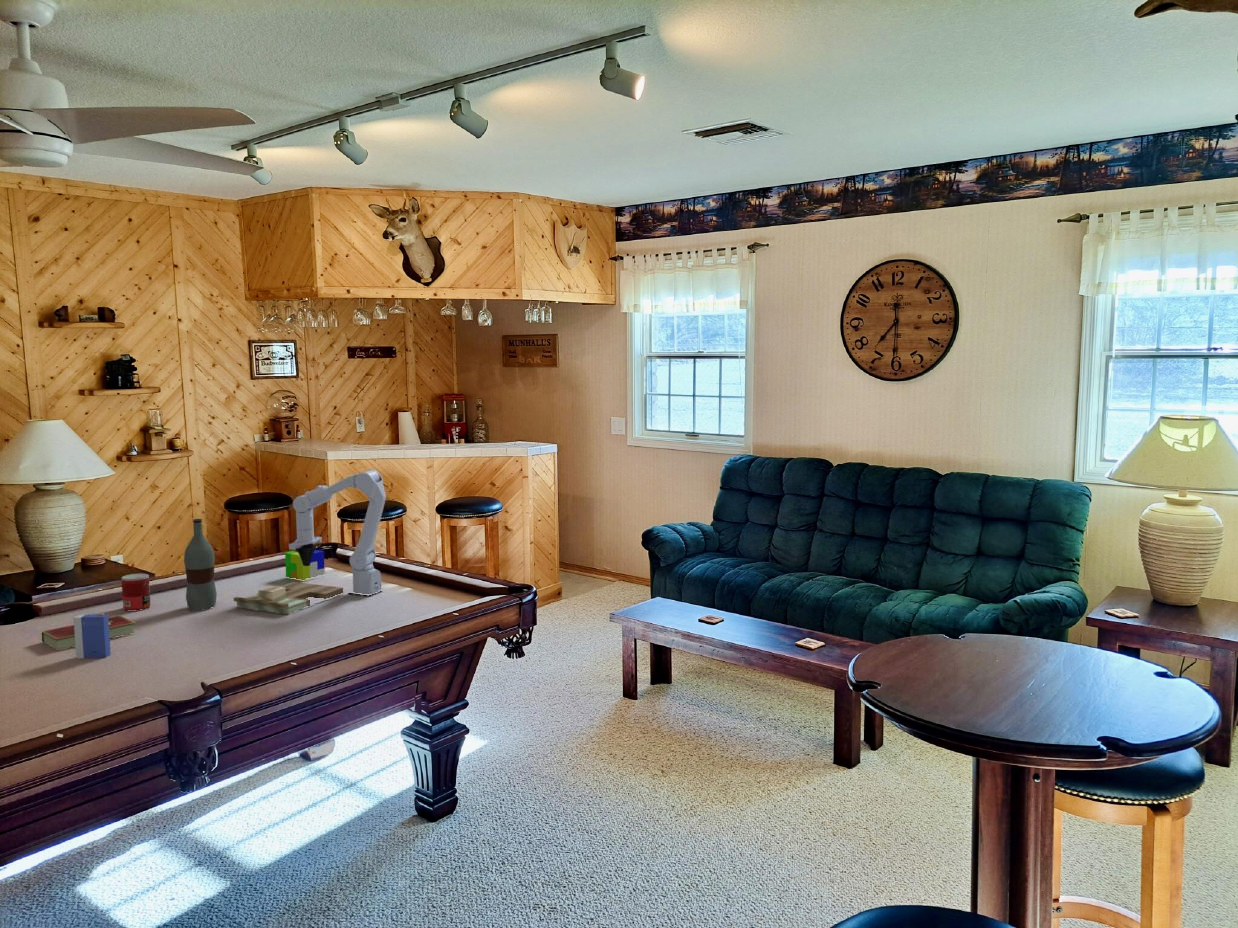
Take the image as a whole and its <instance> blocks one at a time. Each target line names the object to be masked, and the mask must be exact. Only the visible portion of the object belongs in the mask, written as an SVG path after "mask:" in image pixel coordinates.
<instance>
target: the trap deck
mask: <svg viewBox="0 0 1238 928" xmlns="http://www.w3.org/2000/svg"><path fill="white" fill-rule="evenodd" d="M278 587H285V589H286V599H285V600H282V601H279V602H272V601H265V600H259V598H258V593H254V594H251V595H249V596H246V597H242V596H241V597H240V596H234V597H233V601H234V602H236V608H237V607H241V608H240V609H244V608H245V609H244V610H251V609H254V610H253V611H258V610H261V611H260V612H267V613H273V612H275V613H274V614H280V613H282V614H281V615H287V614H289V615H291V614H290V613H292V614H294V613H293V612H295V611H297V610H300V609H303V608H304V607H306V606H310V600H308V599H306V598H308V597H314V598H324V599H326V598H330V597H333V596H335V595H338V594H341V593H343V594H344V587H340V586H332V585H323V584H314V583H306V582H300V581H292V582H289V583H286V584H282V585H280V586H278ZM303 610H304V609H303ZM300 611H301V610H300ZM297 612H298V611H297ZM295 613H296V612H295Z"/></svg>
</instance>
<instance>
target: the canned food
mask: <svg viewBox="0 0 1238 928" xmlns="http://www.w3.org/2000/svg"><path fill="white" fill-rule="evenodd" d="M150 587H151V586H150V576H149V574H147V573H131V574H126V575H124V576H122V577H121V592H122V593H121V595H122V596H121V597H122V607H123V610H124V609H125V610H140V609H145V610H147V609H146V608H148V607H149V608H150V607H151V591H150ZM149 608H148V609H149ZM125 610H124V611H125ZM140 611H141V610H140Z"/></svg>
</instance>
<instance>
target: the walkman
mask: <svg viewBox="0 0 1238 928" xmlns="http://www.w3.org/2000/svg"><path fill="white" fill-rule="evenodd" d="M108 618H109V614H107V613H104V612H103V613H102V612H100V613H98V614H96V613H95V614H78V615H75V616H74V617H73V625H74V629H75V631H74V632H75V646H76V647H75V658H77V659H97V658H98V659H99V658H101V659H102V658H103V659H105V658H107V657H109V656H110V655H111V653H112V651H111V641H110V640H111V639H110V636H109V621H108Z"/></svg>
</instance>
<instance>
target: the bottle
mask: <svg viewBox="0 0 1238 928" xmlns="http://www.w3.org/2000/svg"><path fill="white" fill-rule="evenodd" d="M192 523H193V536H192V538H191V540H190V541H189V542H188V544H187V546H186V547H185V550H184V554H183V555H184V556H183V557H184V558H183V563H184V569H185V574H186V575H185V576H186V583H187V584H186V591H185V592H186V594H185V600H186V604H187V608H188V610H189V609H191V610H190V611H194V610H200V611H203V610H202V609H208V610H210V608H211V607H214V606H215V607H216V603H217V596H218V595H217V589H216V584H215V564H216V563H215V562H216V557H215V551H214V548H213V546H212V545H211V542H209V541H208V539H207V538H206V537H205V536H204V534H203V519H202V518H194V519H192ZM215 607H214V608H215ZM211 609H212V608H211Z"/></svg>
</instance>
